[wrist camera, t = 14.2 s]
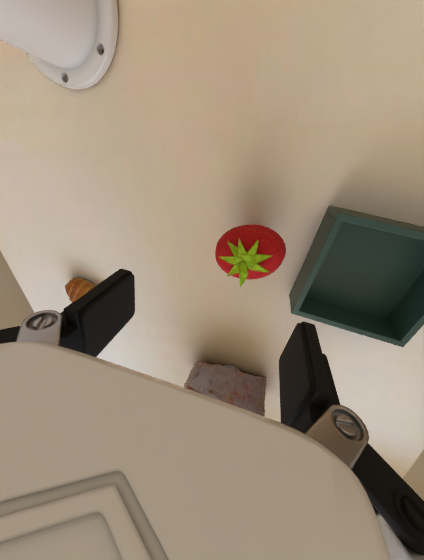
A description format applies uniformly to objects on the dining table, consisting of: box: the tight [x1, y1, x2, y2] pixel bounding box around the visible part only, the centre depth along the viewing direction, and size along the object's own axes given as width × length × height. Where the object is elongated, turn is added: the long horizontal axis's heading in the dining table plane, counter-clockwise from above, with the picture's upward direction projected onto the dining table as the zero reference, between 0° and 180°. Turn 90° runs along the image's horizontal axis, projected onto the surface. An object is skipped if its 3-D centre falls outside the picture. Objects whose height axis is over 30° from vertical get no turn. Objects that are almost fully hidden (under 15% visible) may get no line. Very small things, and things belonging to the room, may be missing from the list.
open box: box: [289, 206, 424, 347], centre depth 24 cm, size 12×13×4 cm
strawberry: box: [216, 225, 286, 287], centre depth 24 cm, size 6×8×10 cm
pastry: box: [65, 277, 96, 302], centre depth 39 cm, size 9×7×4 cm
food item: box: [184, 361, 266, 416], centre depth 37 cm, size 14×8×10 cm, turn 88°
